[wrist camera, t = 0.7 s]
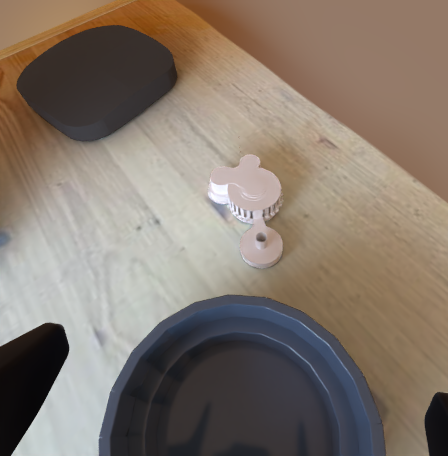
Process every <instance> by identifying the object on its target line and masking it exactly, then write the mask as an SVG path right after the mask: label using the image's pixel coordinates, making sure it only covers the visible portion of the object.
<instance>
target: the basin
mask: <svg viewBox="0 0 448 456" xmlns="http://www.w3.org/2000/svg"><path fill="white" fill-rule="evenodd" d="M99 456H386V449H385V440H384V430H383V424H382V420H381V418H380V415H379V412H378V410H377V407H376V405H375V402H374V400H373V397H372V394H371V392H370V389H369V387H368V384H367V382H366V379H365V377H364V376H363V373H362V372H361V370H360V369H359V368H358V366H357V365H356V364H355V362H354V361H353V360H352V358H351V357H350V355H349V354H348V353H347V351H346V350H345V349H344V347H343V346H342V345H341V343H340V342H339V341H338V339H337V338H336V337H335V336H334V335H332V334H331V333H330V332H329V331H327V330H326V329H325V328H323V327H322V326H321V325H320V324H318V323H317V322H316V321H314V320H313V319H312V318H311V317H309V316H308V315H307V314H305V313H304V312H302V311H300V310H298V309H295V308H293V307H290V306H287V305H285V304H282V303H280V302H277V301H275V300H272V299H270V298H266V297H256V296H243V295H225V296H220V297H216V298H212V299H207V300H203V301H199V302H195V303H193V304H191V305H189V306H187V307H186V308H184V309H182V310H180V311H179V312H177V313H175V314H173V315H172V316H170V317H168V318H166V319H165V320H163V321H162V322H160V323H159V324H158V325H157V326H156V327H155V328H154V329H153V330H152V331H151V332H150V333H149V334H148V335H147V336H146V337H145V339H144V340H143V341H142V342H141V343H140V344H139V345H138V346H137V347H136V348H135V349H134V350H133V352H132V353H131V355H130V356H129V358H128V360H127V362H126V364H125V366H124V367H123V369H122V371H121V373H120V375H119V376H118V378H117V380H116V382H115V384H114V386H113V387H112V391H111V392H110V396H109V400H108V404H107V408H106V412H105V416H104V420H103V424H102V428H101V432H100V436H99Z"/></svg>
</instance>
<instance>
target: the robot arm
mask: <svg viewBox="0 0 448 456" xmlns="http://www.w3.org/2000/svg"><path fill="white" fill-rule="evenodd" d="M68 353H69V344H68V340H67V337H66V333H65V330H64V327H63V326H62V325H60V324H55V323H45V324H43V325H41V326H39V327H37V328H35V329H33V330H31V331H29V332H27V333H25V334H23V335H22V336H20V337H18V338H16V339H14V340H12V341H10V342H8V343H6V344H4V345H2V346H1V347H0V456H11V455H12V453H13V452H14V450H15V448H16V447H17V445H18V444H19V442H20V441H21V439H22V437H23V436H24V434H25V433H26V431H27V430H28V428H29V426H30V425H31V423H32V422H33V420H34V418H35V417H36V415H37V413H38V412H39V410H40V408H41V406H42V405H43V403H44V401H45V399H46V397H47V395H48V393H49V391H50V389H51V387H52V385H53V383H54V381H55V380H56V378H57V376H58V374H59V372H60V370H61V368H62V366H63V364H64V362H65V360H66V358H67V356H68ZM425 431H426V437H427V443H428V449H429V455H430V456H448V393H443V392H437V393H436V394H435V395H434V397H433V399H432V401H431V403H430V406H429V408H428V410H427V412H426V415H425Z"/></svg>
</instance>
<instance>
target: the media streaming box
mask: <svg viewBox="0 0 448 456" xmlns="http://www.w3.org/2000/svg"><path fill="white" fill-rule="evenodd" d="M176 79H177V72H176V68H175V64H174V59H173V56H172V54H171V52H170V51H169V49H167V48H166V47H165V46H163V45H162V44H161V43H159V42H158V41H156V40H154V39H153V38H151V37H149V36H147V35H146V34H143V33H141V32H139V31H137V30H134V29H131V28H128V27H125V26H120V25H111V26H102V27H96V28H92V29H88V30H85V31H82V32H80V33H78V34H75V35H73V36H71V37H69V38H67V39H65V40H63V41H61V42H59V43H58V44H56V45H54V46H53V47H51V48H50V49H48V50H47V51H45V52H44V53H43V54H41V55H40V56H39V57H37V58H36V59H35V60H34V61H32V62H31V63H30V64H29V65H28V66H27V67H26V68H25V69H24V70H23V72H22V73H21V75H20V76H19V78H18V81H17V90H18V91H19V92H20V94H21V95H22V97H23V98H24V99H25V101H26V102H27V104H28V105H29V106H30V107H31V108H32V109H33V110H34V111H36V112H37V113H38V114H39V115H40V116H41V117H42V118H44V119H45V120H46V121H47V122H49V123H50V124H51V125H53V126H54V127H55V128H57V129H58V130H59V131H61V132H62V133H64V134H65V135H67V136H68V137H70V138H72V139H75V140H80V141H90V140H96V139H100V138H103V137H105V136H107V135H109V134H111V133H113V132H114V131H116V130H117V129H118V128H120V127H121V126H123V125H124V124H126V123H127V122H128V121H130V120H131V119H133V118H134V117H135V116H137V115H138V114H139V113H141V112H142V111H143V110H145V109H146V108H147V107H149V106H150V105H151V104H153V103H154V102H155V101H156V100H158V99H159V98H160V97H161V96H163V95H164V94H165V93H166V92H167V91H169V90H170V89H171V88H172V87H173V85H174V84H175V82H176Z"/></svg>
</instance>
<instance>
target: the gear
mask: <svg viewBox="0 0 448 456" xmlns="http://www.w3.org/2000/svg"><path fill="white" fill-rule="evenodd" d="M239 137H240V136H239ZM239 148H240V147H239ZM240 152H241V151H240ZM210 180H211V181H210V183H209V187H208V195H209V197H210V199H211V200H212V201H214V202H216V203H218V204H228V203H229V205H228V206H227V207H228V209H229V208H230V212H231V213H233V215H234V216H235V217H236V218H237V219H239V220H241V221H243V222H246V223H251V224H253V228H251V229H249V230H247V231H246V232H245V233H244V234H243V236H242V238H241V241H240V251H241V255H242V258H243V259H244V261H245V262H246V263H247V264H249V265H250V266H253V267H255V268H268V267H271V266H273V265H274V264H276V263H277V262H278V261H279V259H280V258H281V255H282V250H283V241H282V238H281V236H280V235H279V233H278V232H276V231H275V230H274V229H272V228H270V227H266V225H265V223H264V222H265V221H267V220H269V219H271V218H272V217H273V216H274V215H275V214H276V213H277V212H278V211H279V207H281V206H282V204H280V201H282V202H283V198H280V196H283V193H281V191H282V189H281V184H280V181H279V179H278V178H277V177H276V176H275V175H274V174H273V173H272V172H270V171H268V170H266V169H263V168H262V167H261V166H260V159H259V158H258V157H257V156H256V155H253V154H248V155H245V156H243V157H242V158H241V159H240V163H239V165H238V166H237V167H235V168H229V167H226V166H220V167H217V168H215V169H214V170H213V171H212V172H211V174H210ZM277 201H278V203H277ZM231 203H232V204H231ZM274 205H275V207H274ZM234 206H235V207H236V208H234ZM273 209H274V211H273ZM235 211H236V212H235ZM269 213H270V214H269ZM239 214H241V215H239ZM268 214H269V215H268ZM264 216H265V217H264ZM259 240H264V242H259Z"/></svg>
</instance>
